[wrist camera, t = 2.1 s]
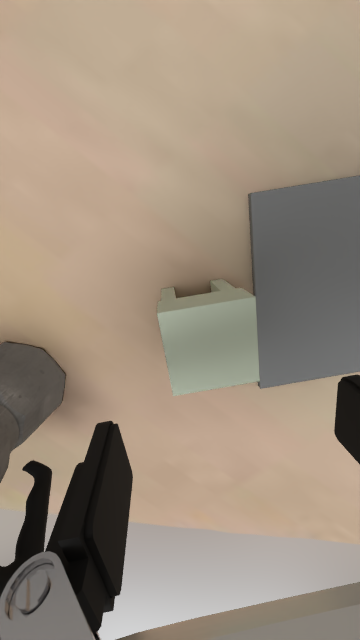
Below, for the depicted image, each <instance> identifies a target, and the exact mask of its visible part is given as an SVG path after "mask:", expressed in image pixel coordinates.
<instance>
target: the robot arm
mask: <svg viewBox="0 0 360 640" xmlns="http://www.w3.org/2000/svg"><path fill="white" fill-rule="evenodd" d="M335 435H336V437H337V439H338V441H339V442H340V443H341V444H342V445H343V446H344V447H345V448H346V450H347V451H348V452H349V453H350V454H351V455H352V456H353V457H354V458H355V460H356V461H357V462H358V463H359V464H360V375H352V376H347V377H343V378H342V379H341V381H340V382H339V383H338V391H337V404H336V417H335ZM132 481H133V476H132V470H131V466H130V463H129V460H128V456H127V453H126V450H125V446H124V443H123V440H122V437H121V433H120V430H119V427H118V424H113V422H112V421H107V422H102V423H98V424H97V425H96V427H95V430H94V433H93V436H92V439H91V442H90V445H89V448H88V451H87V454H86V457H85V460H84V462H82V463H79V464H78V465H77V466H76V468H75V470H74V473H73V476H72V479H71V481H70V484H69V487H68V490H67V492H66V495H65V498H64V501H63V504H62V506H61V509H60V512H59V515H58V517H57V520H56V523H55V526H54V528H53V531H52V534H51V537H50V540H49V542H48V545H47V548H46V551H45V552H41V553H39V554H37V555H34V556H32V557H31V558H30V559H28V560H27V561H26V562H24V563H23V564H22V565H21V566H20V567H19V568H18V570H17V571H16V572H15V573H14V574H13V576H12V577H11V578H10V580H9V581H8V583H7V585H6V587H5V589H4V591H3V593H2V595H1V597H0V640H101V639H100V637H99V634H98V632H97V631H98V630H99V628H100V627H101V623H102V616H103V613H104V612H109V611H113V608H114V599H115V596H117V595H119V594H120V591H121V586H122V575H123V566H124V556H125V547H126V538H127V528H128V519H129V510H130V500H131V491H132ZM117 640H360V582H358V583H353V584H348V585H344V586H339V587H335V588H330V589H326V590H321V591H316V592H312V593H307V594H302V595H298V596H293V597H289V598H284V599H279V600H275V601H271V602H266V603H262V604H257V605H253V606H248V607H244V608H239V609H235V610H230V611H226V612H221V613H217V614H212V615H208V616H203V617H199V618H195V619H191V620H186V621H182V622H178V623H174V624H170V625H166V626H162V627H158V628H154V629H150V630H146V631H143V632H138V633H135V634H132V635H129V636H126V637H123V638H120V639H117Z"/></svg>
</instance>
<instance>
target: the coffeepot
mask: <svg viewBox="0 0 360 640" xmlns="http://www.w3.org/2000/svg"><path fill="white" fill-rule="evenodd" d="M64 388H65V374H64V372H63V371H62V369H61V368H60V367H59V365H58V364H57V362H56V361H55V360H54V359H53V358H52V357H51V356H50V355H48V354H47V353H45V352H44V350H43V349H40V348H37V347H33V346H30V345H26V344H18V343H8V342H4V343H2V344H0V483H1V481H2V479H3V477H4V475H5V472H6V470H7V468H8V464H9V456H10V453H11V452H12V450H13V449H15V448H16V447H18V446H19V445H20V444H22V443H23V442H24V441H25V440H26V439H27V438H28V437H29V436H30V435H31V434H32V433H33V432H34V431H35V430H36V429H37V428H38V427H39V426H40V425H41V424H42V423H43V422H44V421H45V419H46V418H47V417H48V416H49V415H50V414H51V413H52V412H53V411H54V410H55V409H56V408H57V407H58V406H59V405H60V404H61V403H62V397H63V392H64ZM22 470H23V471H26V472H28V473H29V474H31V475H32V476H33V477H34V481H35V482H34V486H33V488H32V490H31V492H30V494H29V496H28V499H27V501H26V516H25V521H24V523H23V526H22V529H21V531H20V534H19V537H18V541H17V544H16V553H15V561H14V562H13V563H11V564H10V565H8V566H6V567H1V566H0V597H1V595H2V593H3V591H4V589H5V587H6V585H7V583H8V581H9V580H10V578H11V577H12V576H13V574H14V573H15V572H16V571H17V570H18V568H19V567H20V566H21V565H22V564H23V563H24V562H26V561H27V560H28V559H30V558H31V557H32V556H34V555H37V554H39V553H41V552H44V542H45V532H46V523H47V515H48V505H49V496H50V488H51V479H52V471H51V469H50V468H49V467H47V466H45V465H43V464H41V463H39V462H37V461H30V462H29V463H27V464H26V465H25V466H24V467H23V469H22Z"/></svg>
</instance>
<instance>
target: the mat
mask: <svg viewBox="0 0 360 640" xmlns="http://www.w3.org/2000/svg"><path fill="white" fill-rule="evenodd" d="M248 196H249V215H250V235H251V254H252V273H253V292H254V296H255V297H256V315H257V336H258V356H259V376H260V381H258V386H259V387H260V389H261V388H267V387H273V386H279V385H285V384H290V383H296V382H302V381H308V380H313V379H319V378H325V377H331V376H337V375H342V374H348V373H354V372H360V176H354V177H348V178H341V179H335V180H329V181H323V182H317V183H311V184H305V185H298V186H292V187H286V188H280V189H274V190H268V191H262V192H255V193H250V194H248Z"/></svg>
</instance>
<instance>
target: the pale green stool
mask: <svg viewBox="0 0 360 640" xmlns="http://www.w3.org/2000/svg"><path fill="white" fill-rule="evenodd" d="M210 284H211V293H205V294H199V295H193V296H187V297H181V298H176V296H175V291H174V287H170V288H164V289H161V301H158V307H157V316H158V321H159V326H160V331H161V336H162V342H163V347H164V352H165V357H166V362H167V367H168V372H169V377H170V382H171V387H172V392H173V396H177V395H183V394H188V393H194V392H200V391H206V390H212V389H217V388H223V387H229V386H235V385H241V384H247V383H252V382H258V381H260V376H259V356H258V336H257V315H256V297H255V296H254V295H252V294H250V293H249V292H247V291H246V290H244V289H243V288H235V287H233V286H232V285H230V284H229V283H228V282H226V281H225V280H223V279H218V280H212V281H210Z"/></svg>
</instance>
